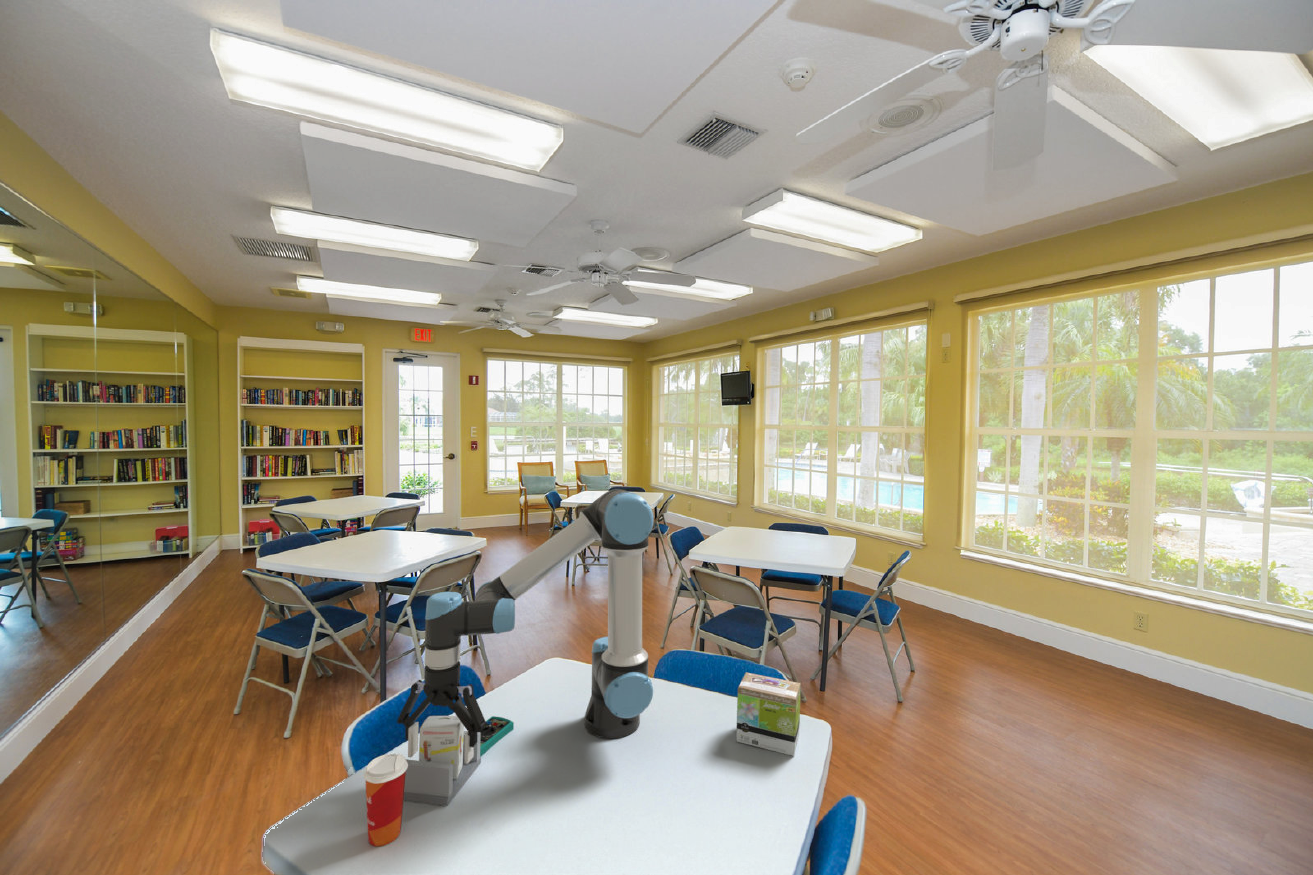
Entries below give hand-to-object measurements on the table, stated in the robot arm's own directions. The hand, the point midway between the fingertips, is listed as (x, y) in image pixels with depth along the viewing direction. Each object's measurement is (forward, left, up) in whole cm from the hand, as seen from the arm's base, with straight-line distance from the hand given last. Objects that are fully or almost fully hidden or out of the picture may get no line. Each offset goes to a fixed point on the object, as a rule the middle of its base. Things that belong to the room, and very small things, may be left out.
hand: (440, 757), depth 118 cm
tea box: (-75, -29, -6) cm, 81 cm away
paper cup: (+2, +17, -5) cm, 18 cm away
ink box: (0, 0, -4) cm, 4 cm away
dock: (0, 0, -5) cm, 5 cm away
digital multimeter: (-3, -17, -6) cm, 18 cm away
